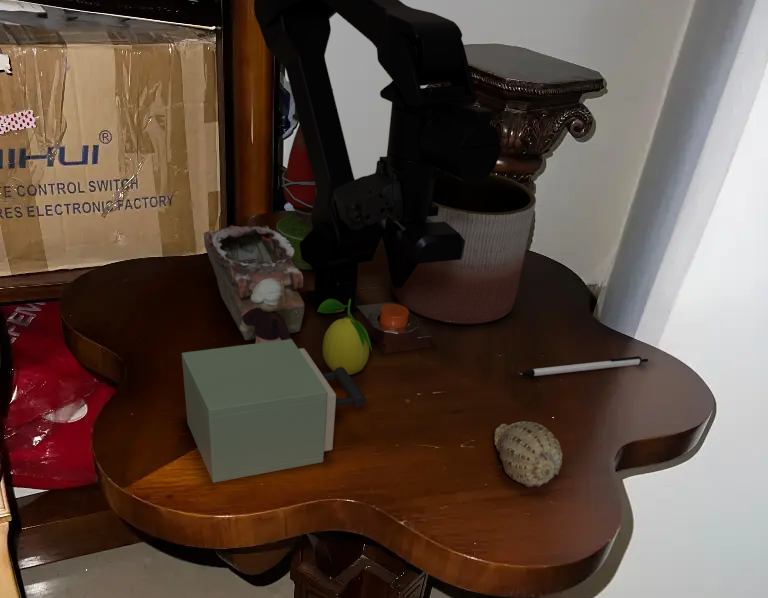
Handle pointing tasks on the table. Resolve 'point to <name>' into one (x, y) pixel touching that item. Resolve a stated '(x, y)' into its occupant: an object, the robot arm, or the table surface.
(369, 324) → the control block
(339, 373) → the drawer
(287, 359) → the cabinet
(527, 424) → the seashell
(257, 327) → the grandmother figurine
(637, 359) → the pen
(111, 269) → the table surface
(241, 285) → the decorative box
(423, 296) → the planter
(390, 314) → the button
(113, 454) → the table surface
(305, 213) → the lantern
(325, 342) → the lemon
